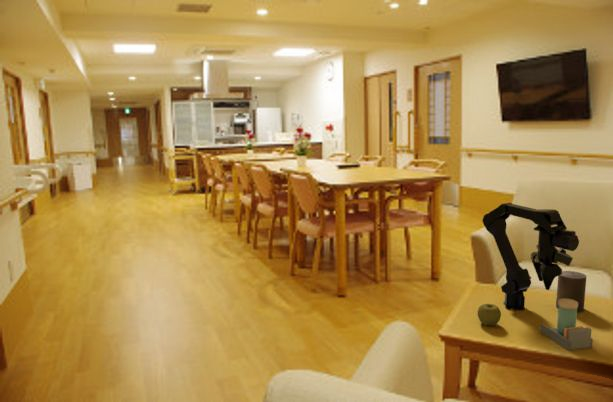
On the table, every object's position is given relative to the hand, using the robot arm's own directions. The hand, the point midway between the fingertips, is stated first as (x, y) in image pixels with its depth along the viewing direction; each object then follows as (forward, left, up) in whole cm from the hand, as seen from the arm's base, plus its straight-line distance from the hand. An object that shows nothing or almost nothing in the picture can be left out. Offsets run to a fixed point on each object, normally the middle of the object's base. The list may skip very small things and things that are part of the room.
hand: (544, 285), depth 179 cm
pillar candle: (+13, +12, -13) cm, 22 cm away
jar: (+3, -17, -12) cm, 21 cm away
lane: (+3, -17, -13) cm, 21 cm away
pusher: (+5, -20, -12) cm, 24 cm away
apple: (-20, -8, -13) cm, 25 cm away
